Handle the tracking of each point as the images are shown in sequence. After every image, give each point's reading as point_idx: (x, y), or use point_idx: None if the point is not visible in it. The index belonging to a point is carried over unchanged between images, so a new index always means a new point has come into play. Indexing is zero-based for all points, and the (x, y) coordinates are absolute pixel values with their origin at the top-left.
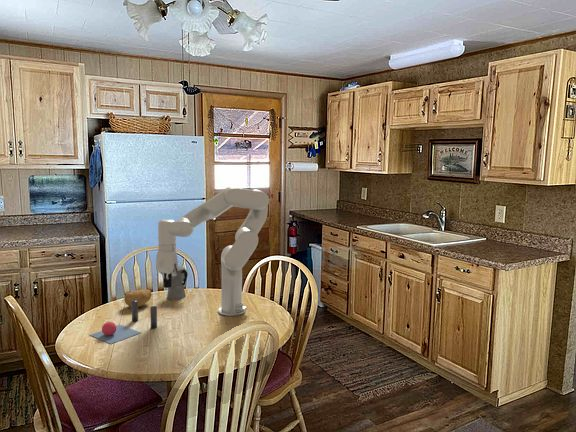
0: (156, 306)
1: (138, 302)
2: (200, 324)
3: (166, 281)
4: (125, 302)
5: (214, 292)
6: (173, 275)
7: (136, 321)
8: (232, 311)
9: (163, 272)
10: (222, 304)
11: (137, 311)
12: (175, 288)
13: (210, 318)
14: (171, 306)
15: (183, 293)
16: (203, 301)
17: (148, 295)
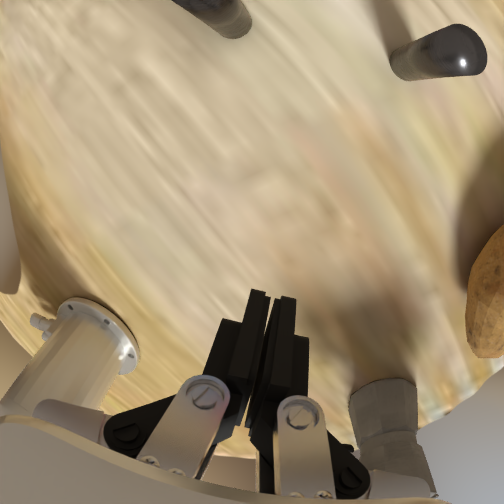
0: (179, 3)
1: (497, 241)
2: (78, 180)
3: (233, 355)
4: None
5: None
6: (59, 413)
7: (391, 55)
8: (66, 317)
9: (197, 493)
10: (86, 338)
11: (410, 56)
12: (379, 422)
13: (95, 256)
14: (349, 319)
15: (352, 415)
16: None
17: (475, 317)
